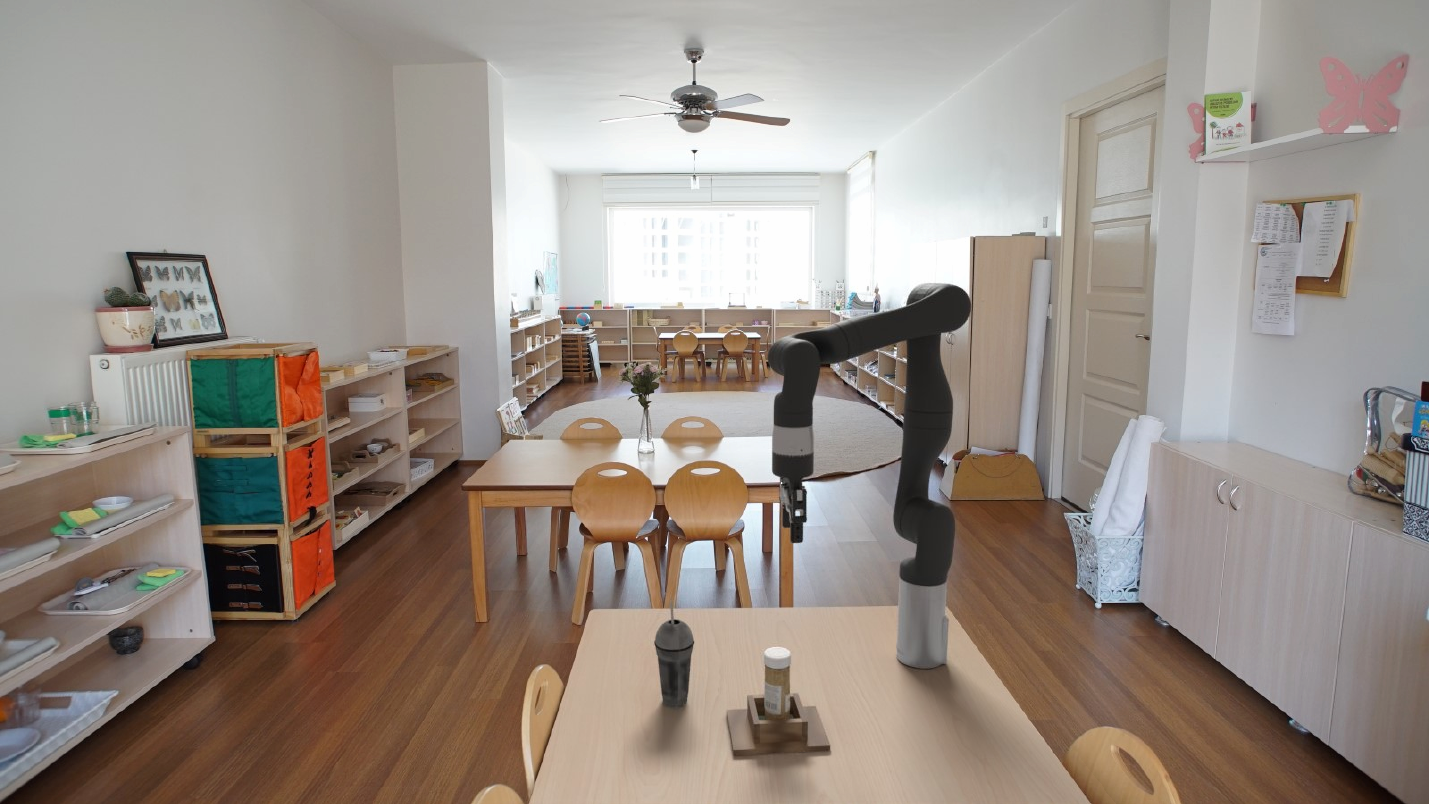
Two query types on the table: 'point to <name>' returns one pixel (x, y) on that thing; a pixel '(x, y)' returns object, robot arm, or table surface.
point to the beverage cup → (674, 660)
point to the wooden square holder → (776, 729)
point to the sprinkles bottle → (777, 683)
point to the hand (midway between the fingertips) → (792, 534)
